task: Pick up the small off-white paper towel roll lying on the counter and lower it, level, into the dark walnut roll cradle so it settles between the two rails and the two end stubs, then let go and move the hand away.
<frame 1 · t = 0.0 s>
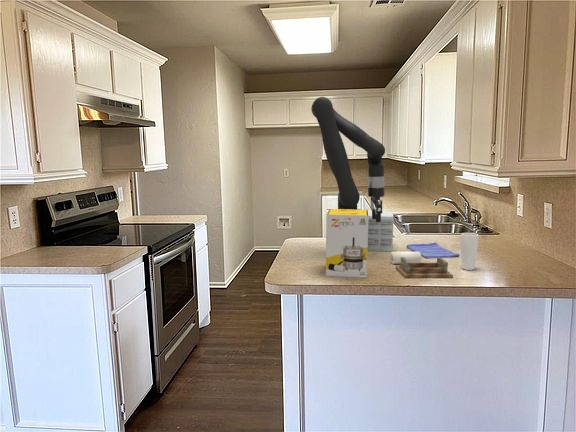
hand: (376, 220, 197), 17 cm above the counter, tool pointing down, fingers open, 8 cm apart
dish towel: (431, 253, 207), on the counter
packaging box: (346, 271, 174), on the counter
supplement box: (378, 248, 217), on the counter
cradle: (423, 273, 171), on the counter
roll: (405, 263, 186), on the counter
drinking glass: (467, 269, 178), on the counter
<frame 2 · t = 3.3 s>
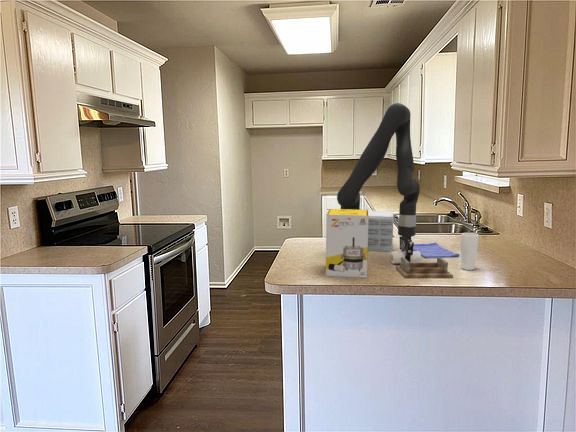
hand: (405, 261, 186), 1 cm above the counter, tool pointing down, fingers closed on roll, 5 cm apart
roll: (405, 263, 186), on the counter, touching gripper
everything else where it was.
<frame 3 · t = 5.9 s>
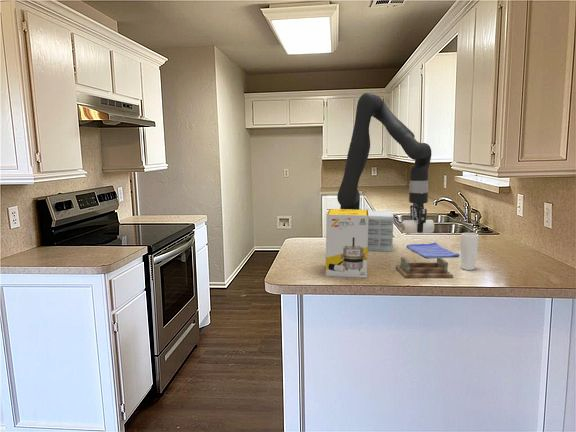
hand: (417, 231, 176), 16 cm above the counter, tool pointing down, fingers closed on roll, 5 cm apart
roll: (417, 232, 176), point 15 cm above the counter, touching gripper
everything else where it was.
when the fingers open (4 cm above the counter, at t = 8.6 s): roll drops 2 cm, resting on cradle.
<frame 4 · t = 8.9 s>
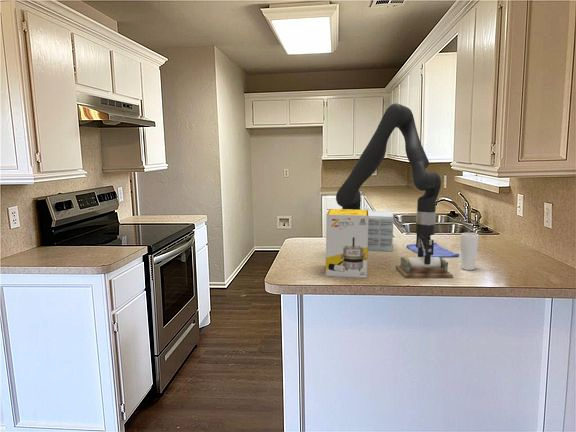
hand: (423, 261, 171), 5 cm above the counter, tool pointing down, fingers open, 8 cm apart
roll: (423, 270, 171), point 1 cm above the counter, touching cradle
everything else where it was.
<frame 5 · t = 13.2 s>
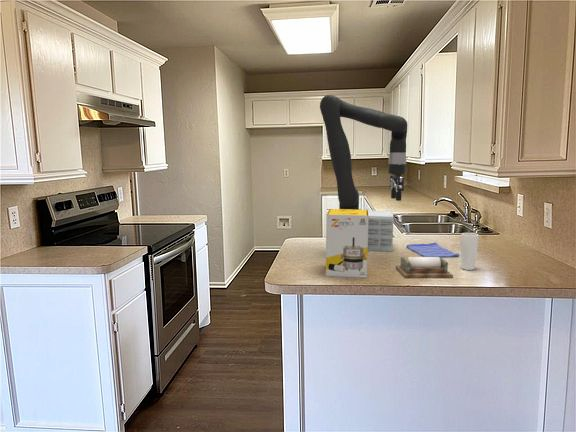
hand: (395, 199, 187), 28 cm above the counter, tool pointing down, fingers open, 8 cm apart
nothing on the counter moved.
at the end: roll 0.0 cm off-centre on the cradle, point 1.2 cm above the cradle's base; roll touching cradle; the gripper is holding nothing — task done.
